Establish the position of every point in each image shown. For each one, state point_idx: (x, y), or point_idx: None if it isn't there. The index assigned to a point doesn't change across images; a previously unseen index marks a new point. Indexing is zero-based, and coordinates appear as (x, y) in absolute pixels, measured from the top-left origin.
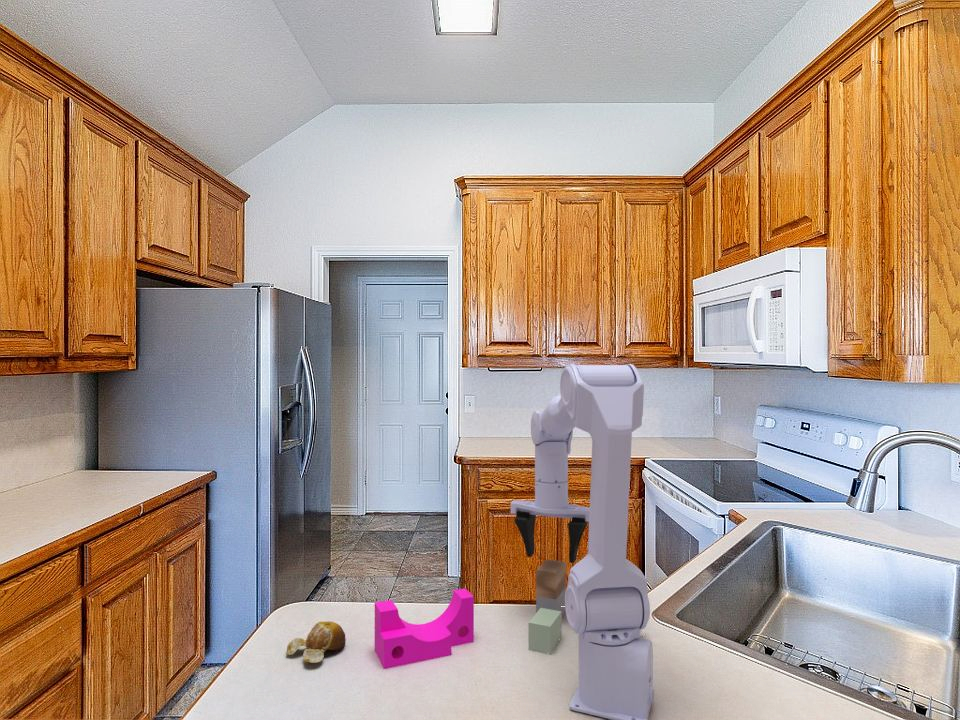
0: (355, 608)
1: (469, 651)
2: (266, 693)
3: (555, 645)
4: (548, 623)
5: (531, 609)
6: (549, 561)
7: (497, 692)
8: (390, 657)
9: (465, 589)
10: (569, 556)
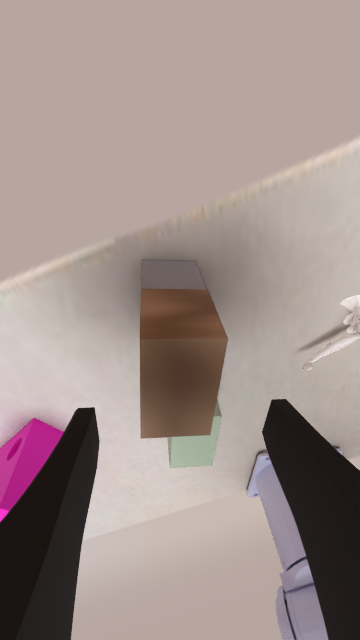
0: None
1: None
2: None
3: None
4: (206, 459)
5: (103, 275)
6: (159, 358)
7: (162, 495)
8: None
9: (4, 510)
10: (271, 460)
